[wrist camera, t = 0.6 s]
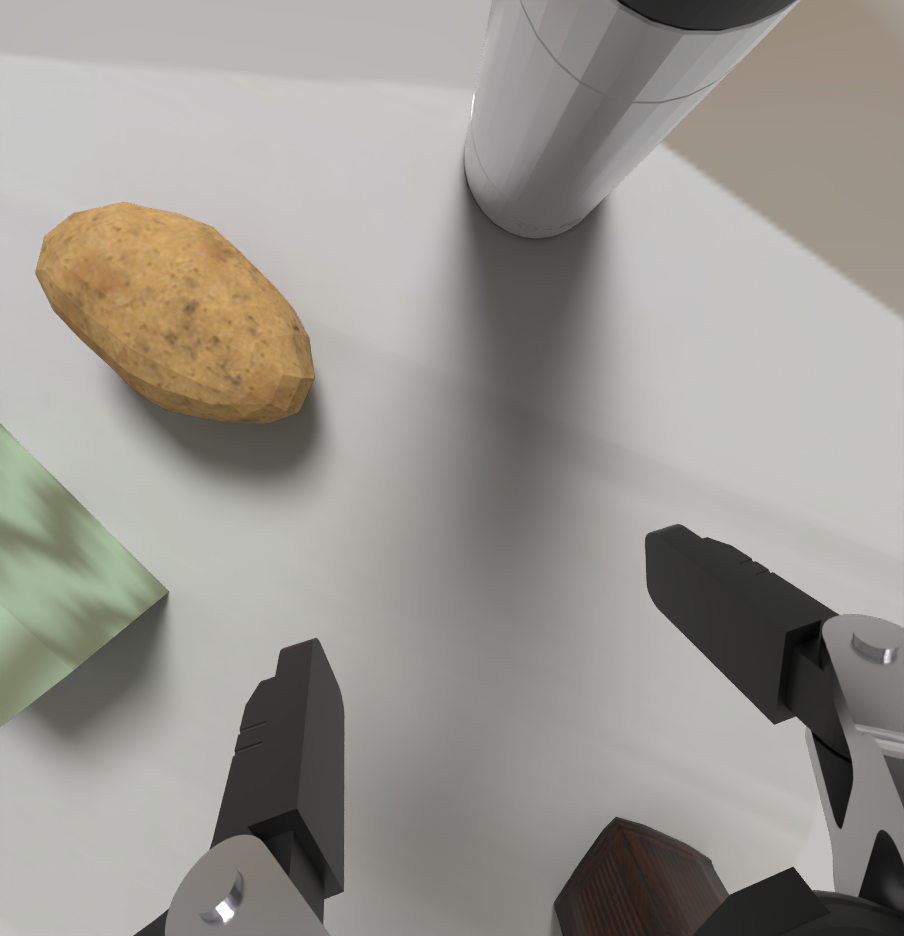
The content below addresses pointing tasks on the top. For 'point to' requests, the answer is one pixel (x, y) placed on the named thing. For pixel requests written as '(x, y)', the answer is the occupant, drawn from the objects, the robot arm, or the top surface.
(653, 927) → the wooden coffee grinder
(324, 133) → the top surface
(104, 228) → the potato
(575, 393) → the top surface
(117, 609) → the sage-green block
